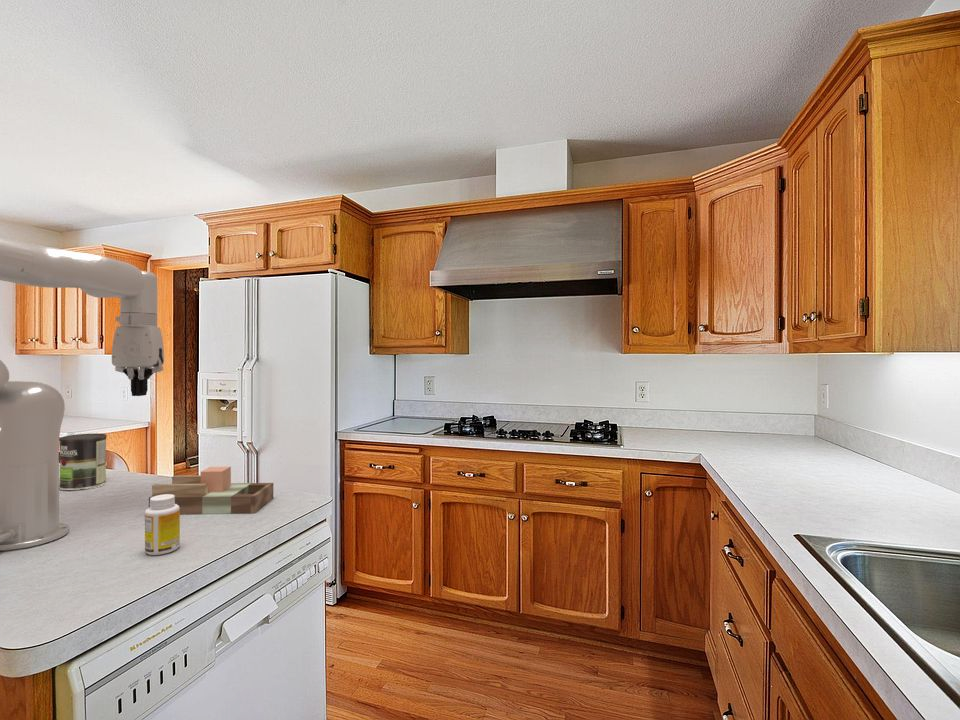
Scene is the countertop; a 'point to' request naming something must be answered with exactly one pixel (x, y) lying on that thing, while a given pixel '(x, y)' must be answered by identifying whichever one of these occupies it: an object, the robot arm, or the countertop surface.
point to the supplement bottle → (162, 525)
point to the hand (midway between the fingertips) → (139, 395)
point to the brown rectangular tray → (214, 496)
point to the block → (216, 478)
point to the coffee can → (82, 461)
